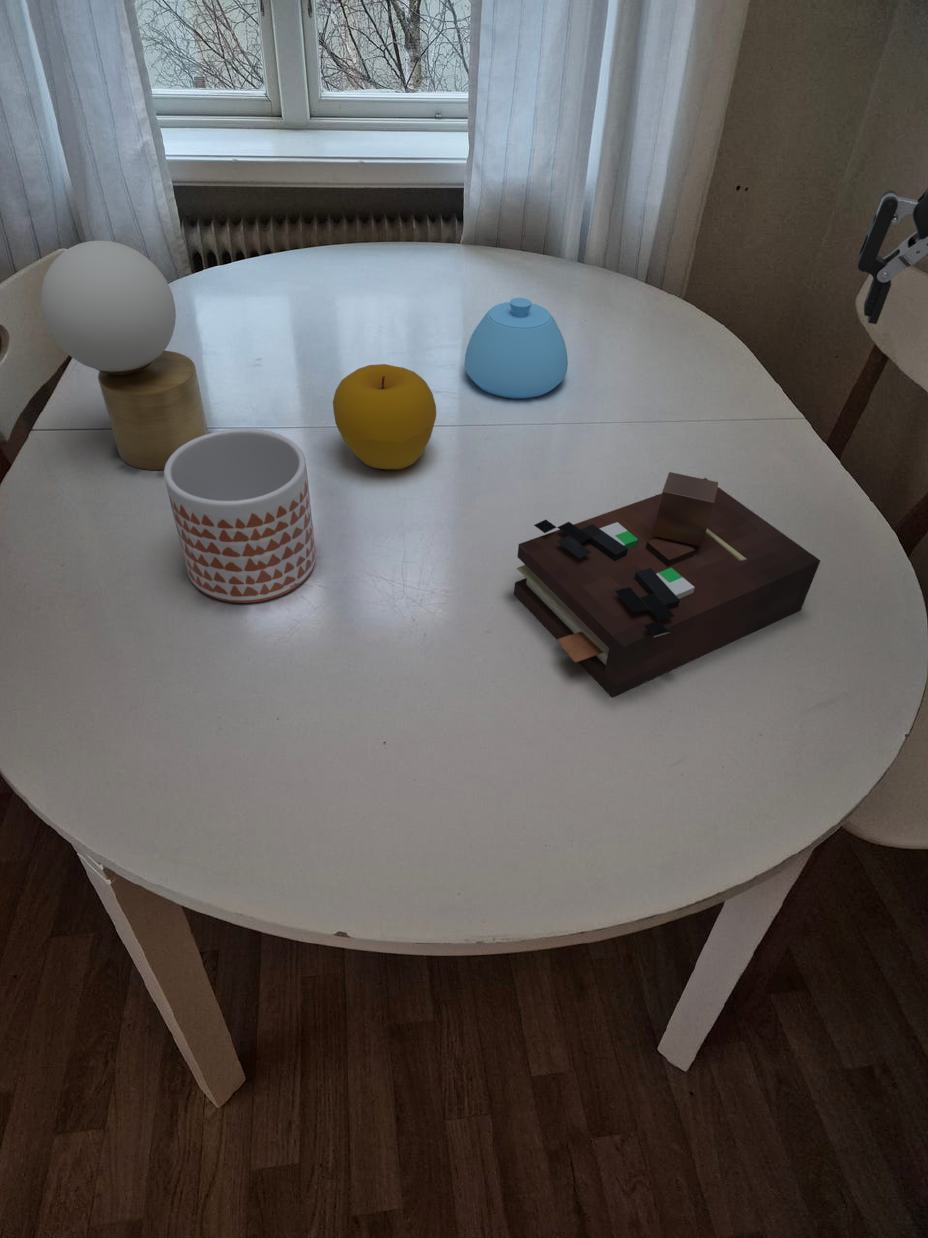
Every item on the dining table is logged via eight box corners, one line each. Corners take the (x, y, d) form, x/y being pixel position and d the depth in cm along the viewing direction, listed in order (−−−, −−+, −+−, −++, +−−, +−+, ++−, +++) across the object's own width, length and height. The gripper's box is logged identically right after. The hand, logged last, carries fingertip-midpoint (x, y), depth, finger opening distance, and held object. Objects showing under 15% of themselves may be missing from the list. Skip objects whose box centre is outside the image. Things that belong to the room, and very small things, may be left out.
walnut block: (706, 525, 89) (718, 481, 87) (701, 547, 85) (714, 502, 83) (658, 515, 90) (669, 471, 88) (651, 535, 86) (662, 490, 84)
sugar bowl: (565, 407, 121) (574, 327, 113) (458, 398, 122) (461, 319, 114) (566, 358, 132) (575, 283, 124) (469, 351, 133) (472, 276, 125)
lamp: (69, 473, 105) (0, 266, 88) (108, 415, 115) (54, 219, 98) (193, 479, 105) (149, 272, 88) (221, 420, 115) (186, 225, 98)
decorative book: (849, 553, 86) (612, 658, 74) (825, 609, 91) (600, 715, 79) (715, 460, 98) (492, 537, 86) (700, 514, 103) (488, 594, 91)
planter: (208, 620, 87) (185, 518, 78) (173, 545, 95) (148, 445, 87) (335, 581, 92) (326, 481, 83) (290, 513, 100) (278, 416, 92)
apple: (366, 497, 103) (361, 412, 96) (317, 447, 111) (309, 365, 103) (455, 467, 109) (458, 384, 101) (403, 421, 116) (402, 341, 109)
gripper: (908, 124, 65) (837, 332, 76) (1119, 148, 61) (1013, 361, 72) (906, 103, 70) (840, 300, 81) (1100, 124, 67) (1004, 326, 78)
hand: (922, 328), depth 77 cm, fingers open, 8 cm apart
